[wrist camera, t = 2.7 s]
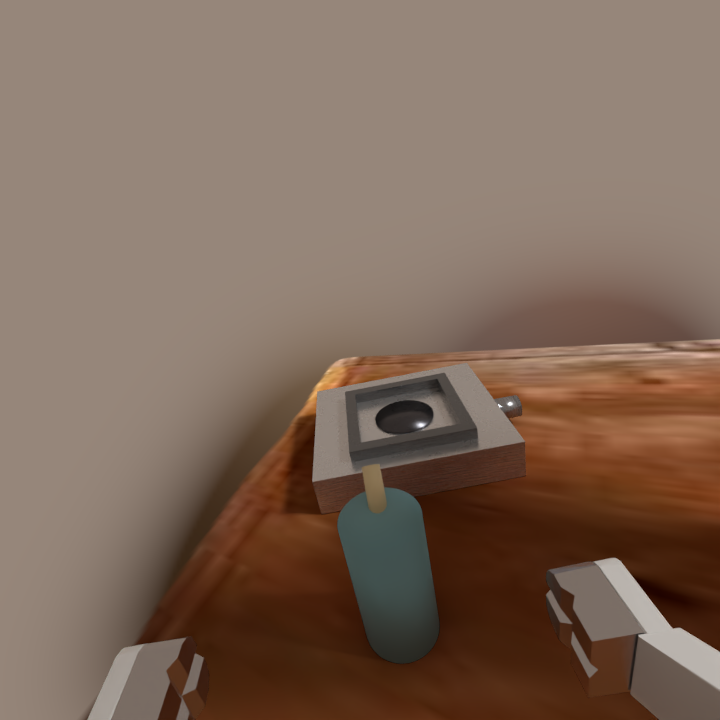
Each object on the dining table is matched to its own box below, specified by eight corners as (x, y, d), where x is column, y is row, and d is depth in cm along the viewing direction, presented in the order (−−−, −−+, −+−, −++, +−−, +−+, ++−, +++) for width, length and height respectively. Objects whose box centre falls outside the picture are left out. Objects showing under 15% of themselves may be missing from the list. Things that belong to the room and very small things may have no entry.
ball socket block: (490, 385, 57) (488, 350, 55) (556, 469, 40) (557, 424, 38) (323, 417, 57) (315, 383, 55) (321, 514, 41) (309, 471, 39)
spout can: (428, 576, 33) (407, 449, 28) (448, 655, 27) (426, 515, 22) (362, 588, 33) (330, 464, 28) (368, 670, 27) (330, 533, 22)
